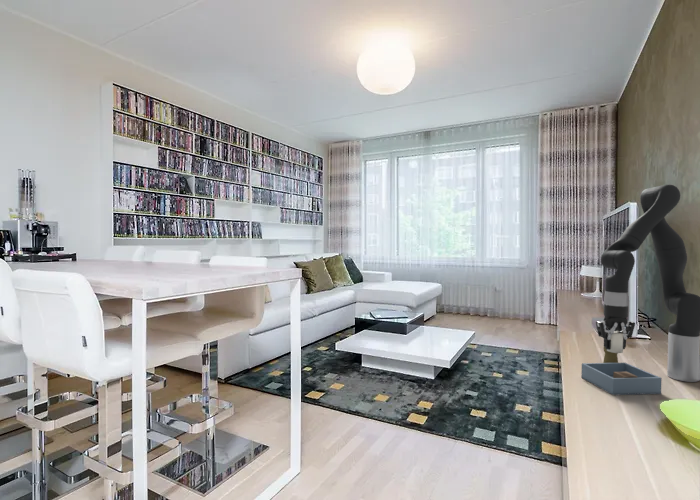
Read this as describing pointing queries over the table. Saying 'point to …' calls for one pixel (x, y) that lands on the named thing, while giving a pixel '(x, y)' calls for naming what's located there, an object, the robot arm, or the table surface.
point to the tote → (621, 379)
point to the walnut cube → (623, 375)
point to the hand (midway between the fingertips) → (614, 348)
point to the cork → (610, 357)
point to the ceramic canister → (616, 342)
